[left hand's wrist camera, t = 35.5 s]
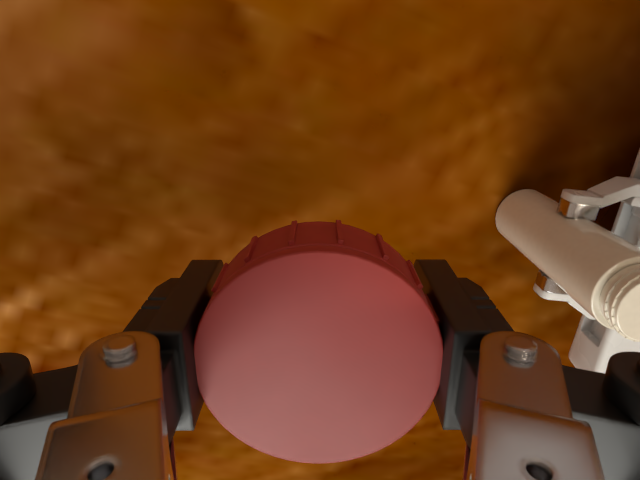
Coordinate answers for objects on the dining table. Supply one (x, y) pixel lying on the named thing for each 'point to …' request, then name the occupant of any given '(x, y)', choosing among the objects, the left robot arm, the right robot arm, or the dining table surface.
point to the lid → (318, 344)
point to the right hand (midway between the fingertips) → (550, 245)
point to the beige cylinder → (577, 258)
